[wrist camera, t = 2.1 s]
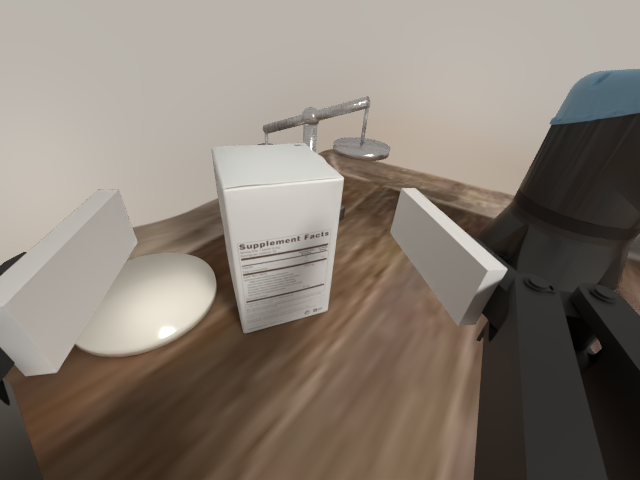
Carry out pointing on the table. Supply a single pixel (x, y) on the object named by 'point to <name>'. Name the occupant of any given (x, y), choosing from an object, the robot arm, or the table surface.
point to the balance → (343, 146)
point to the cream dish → (150, 305)
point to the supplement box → (278, 229)
